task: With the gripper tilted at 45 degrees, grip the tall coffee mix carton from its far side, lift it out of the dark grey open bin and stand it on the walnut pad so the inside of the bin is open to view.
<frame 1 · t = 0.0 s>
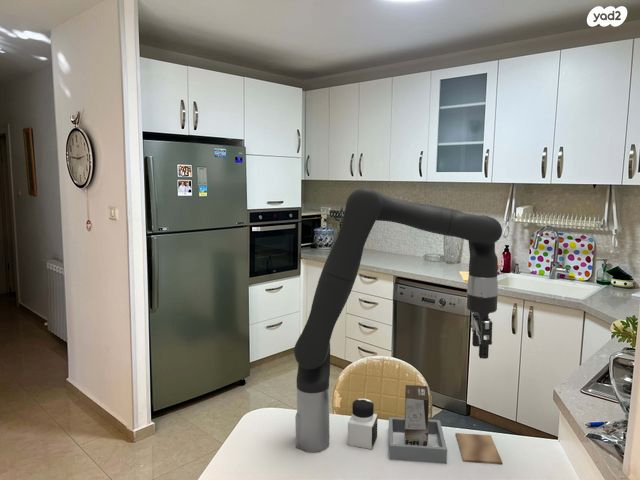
hand: (479, 351, 120), 29 cm above the table, tool pointing down, fingers open, 8 cm apart
coffee box: (415, 446, 128), resting in bin
medicine bottle: (362, 441, 131), on the table
bin: (415, 445, 128), on the table
pad: (477, 448, 127), on the table
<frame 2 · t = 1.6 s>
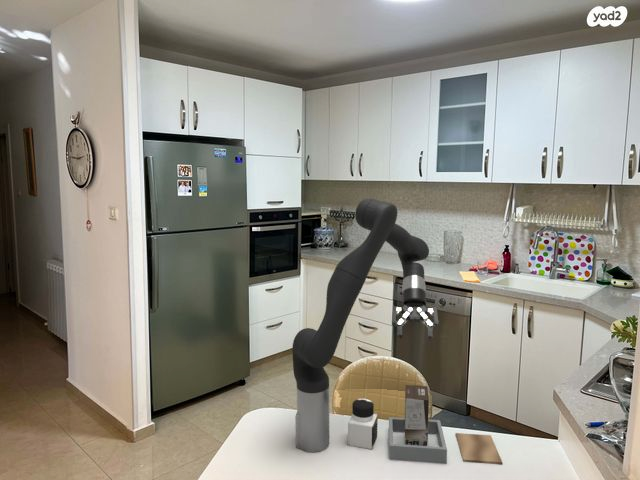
hand: (415, 338, 138), 27 cm above the table, tool tilted 45°, fingers open, 8 cm apart
nothing on the table moved.
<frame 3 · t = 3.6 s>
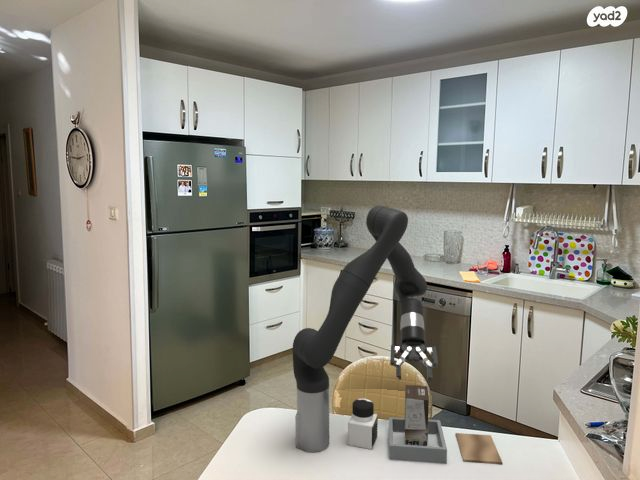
hand: (414, 379, 135), 16 cm above the table, tool tilted 45°, fingers open, 8 cm apart
nothing on the table moved.
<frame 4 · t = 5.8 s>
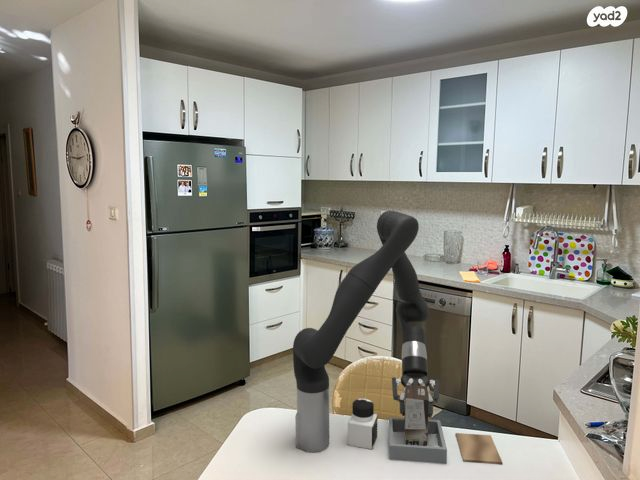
hand: (416, 415, 127), 9 cm above the table, tool tilted 45°, fingers closed on coffee box, 6 cm apart
coffee box: (415, 446, 128), resting in bin, touching gripper
everything else where it was.
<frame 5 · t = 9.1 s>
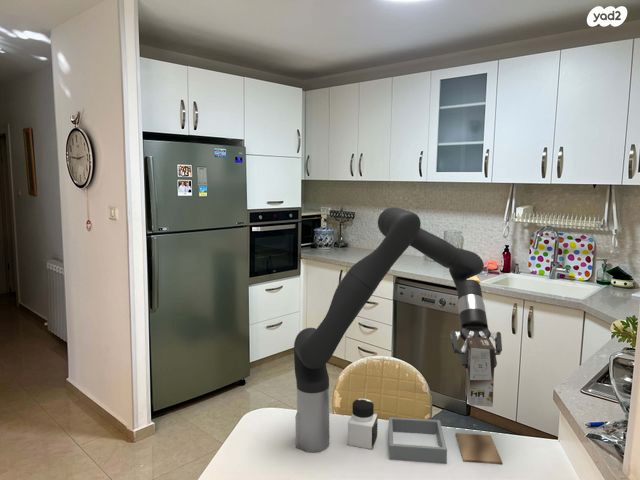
hand: (479, 367, 124), 24 cm above the table, tool tilted 45°, fingers closed on coffee box, 6 cm apart
coffee box: (478, 399, 125), point 14 cm above the table, touching gripper
everything else where it was.
when the fingers open (11 cm above the table, at t = 12.1 s): coffee box drops 1 cm, resting on pad.
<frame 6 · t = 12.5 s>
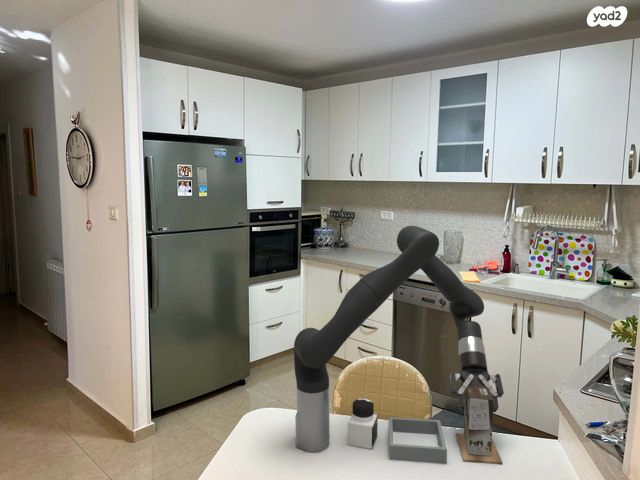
hand: (478, 410, 126), 11 cm above the table, tool tilted 45°, fingers open, 8 cm apart
coffee box: (477, 446, 127), resting on pad
everything else where it was.
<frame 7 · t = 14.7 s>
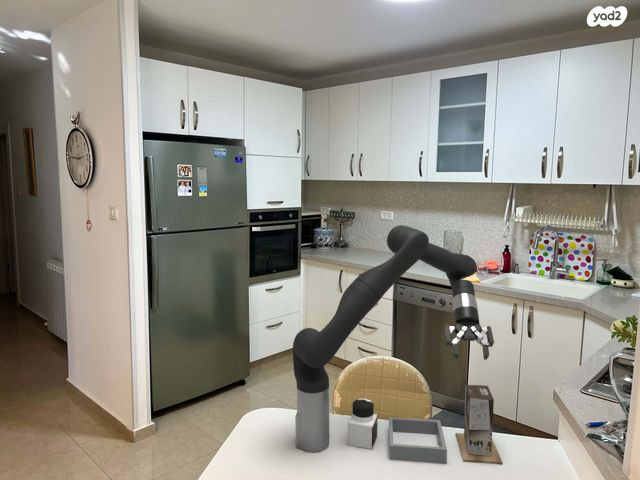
hand: (471, 358, 137), 21 cm above the table, tool tilted 45°, fingers open, 8 cm apart
nothing on the table moved.
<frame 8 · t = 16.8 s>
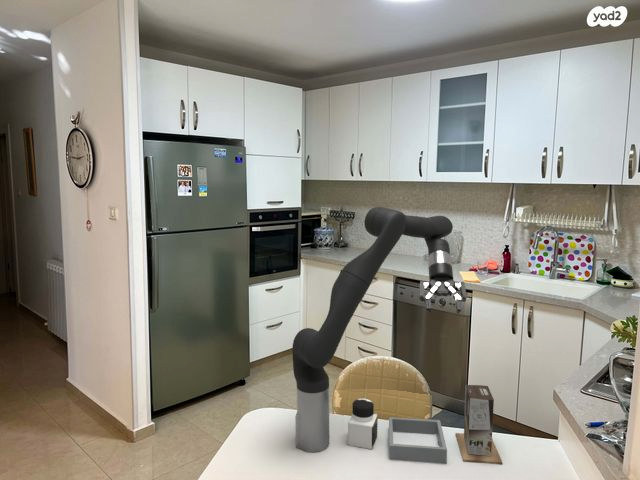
hand: (444, 311, 139), 35 cm above the table, tool tilted 45°, fingers open, 8 cm apart
nothing on the table moved.
at the end: coffee box inside the target area on the pad (0.3 cm from its centre), point 0.4 cm above the pad's base; coffee box tilted 0°; the gripper is holding nothing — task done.
